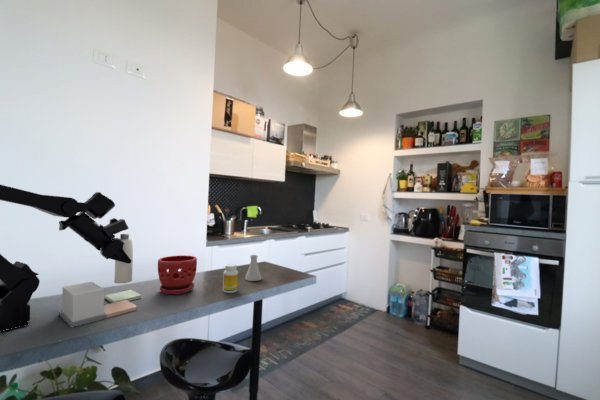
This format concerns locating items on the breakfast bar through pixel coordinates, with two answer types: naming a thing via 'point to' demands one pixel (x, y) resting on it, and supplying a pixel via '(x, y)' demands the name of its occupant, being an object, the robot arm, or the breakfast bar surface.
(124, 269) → the cream bottle
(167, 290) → the plant pot
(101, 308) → the grey unit
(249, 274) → the flask
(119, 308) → the terracotta pad
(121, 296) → the sage green pad
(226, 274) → the supplement bottle
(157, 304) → the breakfast bar surface
